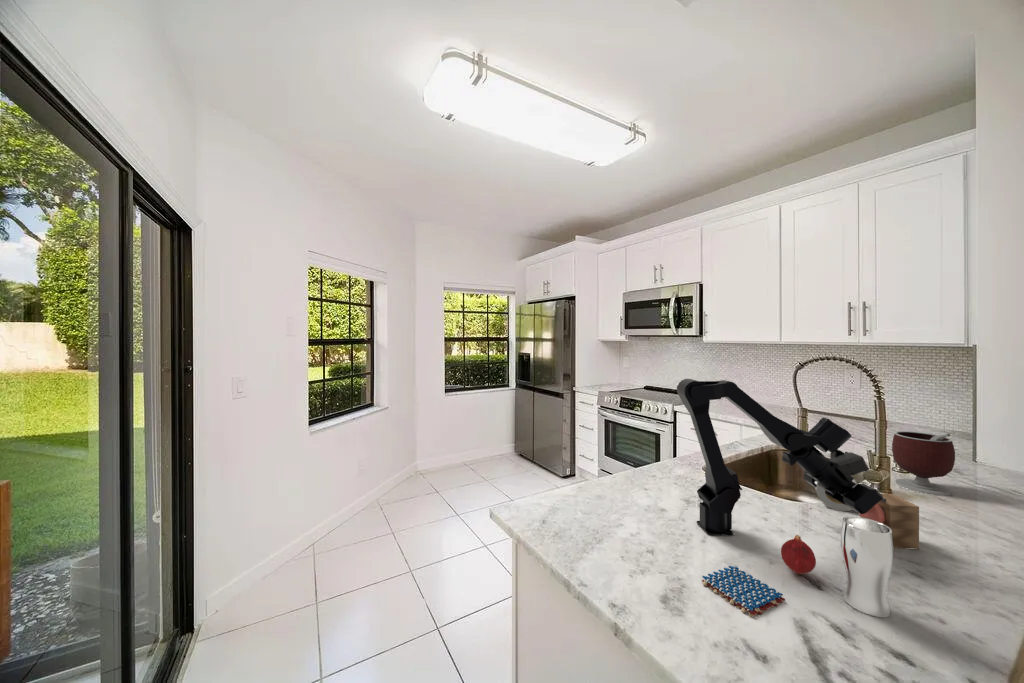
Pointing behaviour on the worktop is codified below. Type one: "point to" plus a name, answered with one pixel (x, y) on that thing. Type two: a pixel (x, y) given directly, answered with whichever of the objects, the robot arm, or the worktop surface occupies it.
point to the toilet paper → (831, 499)
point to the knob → (875, 514)
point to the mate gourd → (923, 459)
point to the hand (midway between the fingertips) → (865, 511)
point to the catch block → (901, 521)
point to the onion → (798, 556)
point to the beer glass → (867, 564)
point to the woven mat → (743, 590)
